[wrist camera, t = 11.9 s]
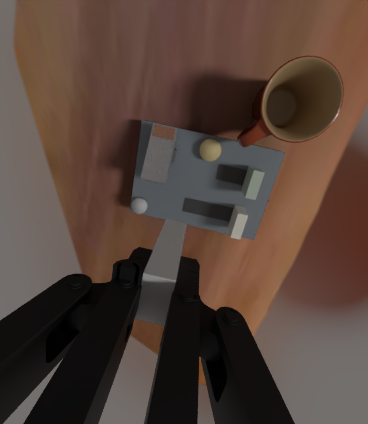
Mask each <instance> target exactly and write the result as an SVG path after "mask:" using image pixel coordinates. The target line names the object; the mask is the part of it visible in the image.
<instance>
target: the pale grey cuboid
mask: <svg viewBox="0 0 368 424" xmlns="http://www.w3.org/2000/svg"><path fill="white" fill-rule="evenodd" d="M247 218H248V214H247V212H246V210H245V208H244V207H242V206H238V205H235V206H234V209H233V212H232V216H231V219H230V222H229V225H228V229H229V233H230V237H231V238H235V239H241V236H242V233H243V230H244V227H245V224H246V221H247Z"/></svg>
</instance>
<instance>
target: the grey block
mask: <svg viewBox="0 0 368 424" xmlns="http://www.w3.org/2000/svg"><path fill="white" fill-rule="evenodd" d="M264 174H265V172H263V171H262V170H261V169H259V168H257V167H252V166H248V170H247V173H246V176H245V179H244V182H243V186H242V189H241V191H242V193H243V195H244V197H245V198H249V199H253V200H256V197H257V194H258V191H259V188H260V185H261V182H262V180H263V177H264Z"/></svg>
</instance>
